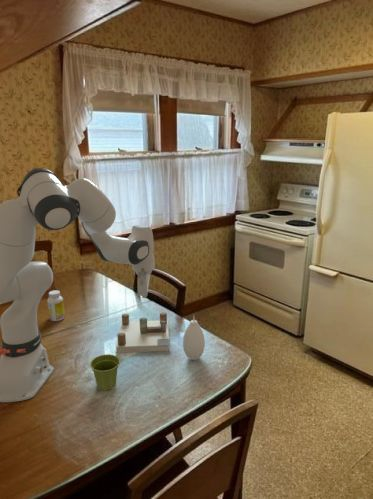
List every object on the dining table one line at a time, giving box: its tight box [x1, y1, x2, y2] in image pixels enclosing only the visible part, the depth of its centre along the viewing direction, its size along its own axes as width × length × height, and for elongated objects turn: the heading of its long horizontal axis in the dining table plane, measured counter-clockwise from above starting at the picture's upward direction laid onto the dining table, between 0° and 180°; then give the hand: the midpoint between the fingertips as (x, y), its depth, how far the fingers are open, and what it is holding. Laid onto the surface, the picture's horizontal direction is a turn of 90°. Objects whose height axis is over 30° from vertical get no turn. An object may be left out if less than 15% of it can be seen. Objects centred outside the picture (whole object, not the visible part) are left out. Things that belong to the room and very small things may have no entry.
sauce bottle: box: [182, 315, 206, 361], centre depth 133 cm, size 8×8×18 cm
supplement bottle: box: [46, 289, 66, 322], centre depth 164 cm, size 7×7×13 cm
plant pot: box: [89, 354, 121, 391], centre depth 120 cm, size 9×9×9 cm
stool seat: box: [115, 311, 171, 354], centre depth 148 cm, size 20×20×6 cm
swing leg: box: [139, 317, 166, 334], centre depth 148 cm, size 3×10×6 cm, turn 94°
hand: (144, 296), depth 150 cm, fingers closed
